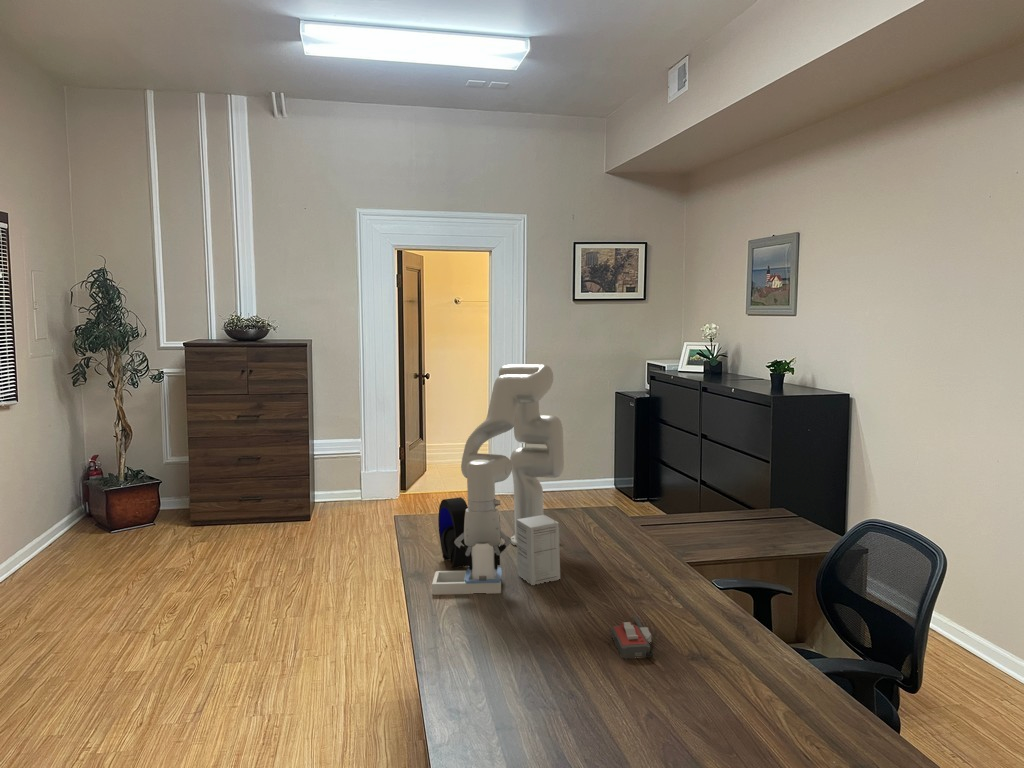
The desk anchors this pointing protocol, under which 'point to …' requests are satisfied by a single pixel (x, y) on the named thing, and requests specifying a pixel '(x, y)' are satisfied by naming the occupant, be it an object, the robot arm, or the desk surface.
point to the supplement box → (538, 549)
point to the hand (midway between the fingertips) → (483, 567)
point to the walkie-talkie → (632, 639)
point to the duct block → (464, 583)
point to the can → (483, 561)
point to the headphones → (452, 529)
